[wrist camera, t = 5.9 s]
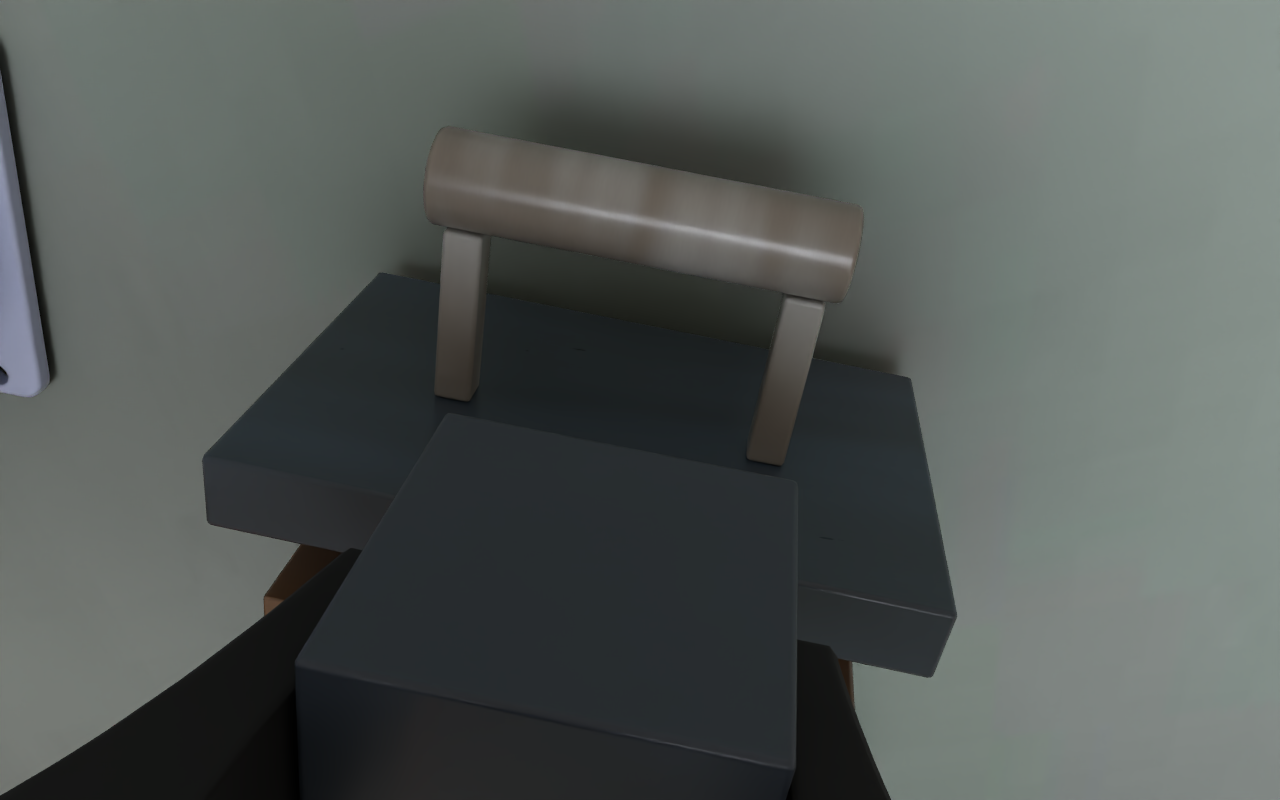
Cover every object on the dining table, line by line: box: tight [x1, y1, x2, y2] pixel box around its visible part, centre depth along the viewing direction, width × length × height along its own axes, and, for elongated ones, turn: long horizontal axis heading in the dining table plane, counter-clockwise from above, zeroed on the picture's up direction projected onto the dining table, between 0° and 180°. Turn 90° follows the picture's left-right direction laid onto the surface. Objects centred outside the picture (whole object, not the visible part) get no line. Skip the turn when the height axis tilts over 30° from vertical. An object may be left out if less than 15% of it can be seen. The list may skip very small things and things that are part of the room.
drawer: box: [202, 126, 957, 709], centre depth 19 cm, size 17×10×7 cm, turn 171°
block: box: [295, 413, 798, 800], centre depth 11 cm, size 4×4×4 cm
